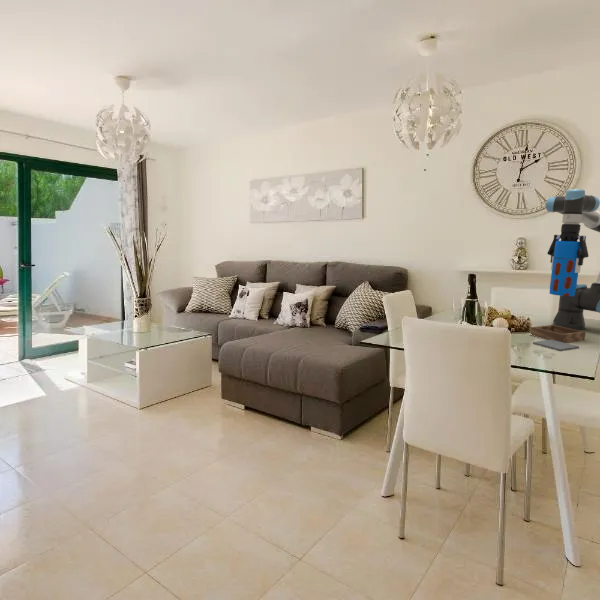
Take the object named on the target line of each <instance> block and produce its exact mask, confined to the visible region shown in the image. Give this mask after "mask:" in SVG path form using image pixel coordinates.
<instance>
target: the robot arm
mask: <svg viewBox="0 0 600 600" xmlns="http://www.w3.org/2000/svg"><path fill="white" fill-rule="evenodd" d="M599 207H600V199H599V198H598V196H594V195H593V194H592V195H591V194H590V195H587V194H586V191H585V190H584V189H581V188H577V189H575V188H573V189H567V190H566V193H565V195H563V196H561V195H560V196H557V195H556V196H551V197H550V196H549V197H548V198H547V199H546V202H545V209H546V211H547V212H549V213H557V214H560V215H562V220H561V222H562V224H561V228H560V232H561V234H554V235H553V240H552V242H551V244H550V246H549V249H548V251H547V253H546V254H547V255H548V256H550V263H551V266H550V271H552V266H553V258H555V257H554V250H555V243H556V241H573V242H580V246H581V249H580V250H578V249H577V255H578V258H577V259H576V266H575V273H578V274H580V273H581V267H582V266H583V265H584V259H587V258H588V257H589V251H588V247H587V242H586V240H587V236H586V235H580V231H581V224H582V225H583V226H584V227H585V228H588V229H589V230H592V231H595V232H597V233H600V211H599V210H598V209H599ZM578 240H579V241H578ZM598 273H599V274H598V275H597V278H596V281H594V282H591V285H590V287H588V285H587V284H586V283H585V284H584V283H583V284H581V283H577V286H576V291H575V296H559V299H558V300H559V301H558V309H557V313H556V314H555V316H554V318H553V321H552V325H556V326H561V327H565V328H570V329H574V330H579V331H581V330H586V321H585V317H584V311H589V312H594V313H598V314H600V271H599V272H598Z"/></svg>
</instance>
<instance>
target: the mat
mask: <svg viewBox="0 0 600 600" xmlns="http://www.w3.org/2000/svg"><path fill="white" fill-rule="evenodd" d="M532 344H533V345H536V344H537V345H536V346H539V345H540V347H543V346H544V347H543V348H547V347H548V348H547V349H550V348H551V349H550V350H554V349H555V351H557V352H564V350H565V351H569V350H570V351H571V350H576V349H580V346H578V345H575V344H571V343H563V342H559V341H555V340H547V339H544V340H539V341H538V340H537V341H533V342H532Z"/></svg>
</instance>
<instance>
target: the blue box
mask: <svg viewBox="0 0 600 600" xmlns="http://www.w3.org/2000/svg"><path fill="white" fill-rule="evenodd" d="M577 249H578V250H580V249H581V246H580V241H578V242H573V241H561V240H559V241H556V243H555V250H554V257H555V258H553V266H552V270H551V275H550V282H549V294H550V295H553V296H559V297H560V296H575V291H576V286H577V284H578V276H579V273H575V266H576V259H577V258H578V255H577Z"/></svg>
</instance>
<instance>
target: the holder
mask: <svg viewBox="0 0 600 600" xmlns="http://www.w3.org/2000/svg"><path fill="white" fill-rule="evenodd" d="M530 334H532V335H535V336H538V337H537V338H539V337H541V338H540V339H543V338H544V340H547V339H548V340H555V341H559V342H563V343H567V342H569V343H574V342H575V341H576V342H581V340H582V341H585V340H586V331H582V330H578V329H570V328H565V327H561V326H556V325H553V324H548V325H547V324H546V325H538V326H532V327H530ZM530 334H529V335H530ZM532 335H531V336H532ZM535 336H534V337H535ZM576 342H575V343H576ZM567 344H568V343H567Z"/></svg>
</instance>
